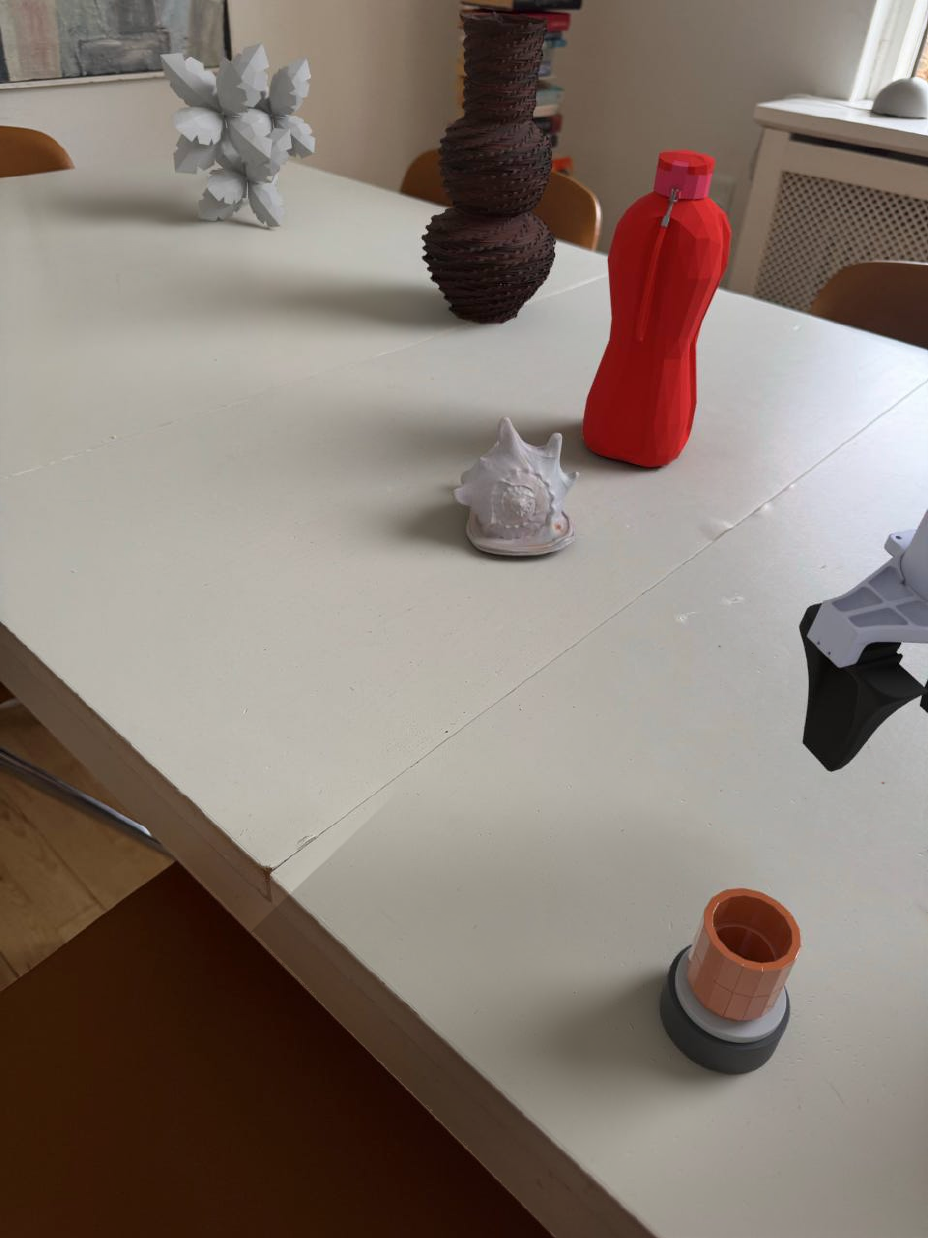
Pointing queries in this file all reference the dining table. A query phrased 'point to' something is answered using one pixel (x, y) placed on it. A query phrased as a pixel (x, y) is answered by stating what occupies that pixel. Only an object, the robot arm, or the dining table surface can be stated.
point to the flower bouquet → (239, 129)
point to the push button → (718, 1026)
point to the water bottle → (657, 314)
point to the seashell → (518, 497)
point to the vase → (494, 176)
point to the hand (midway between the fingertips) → (881, 736)
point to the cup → (742, 954)
